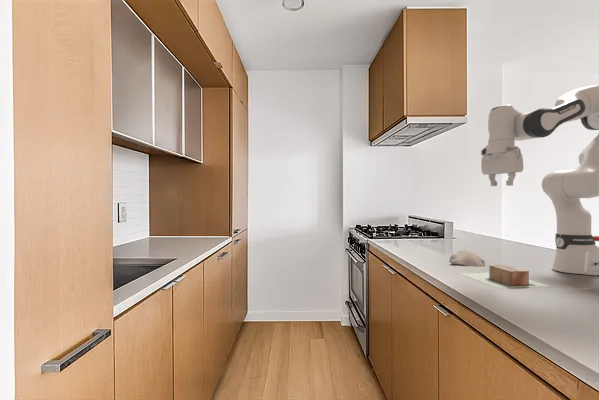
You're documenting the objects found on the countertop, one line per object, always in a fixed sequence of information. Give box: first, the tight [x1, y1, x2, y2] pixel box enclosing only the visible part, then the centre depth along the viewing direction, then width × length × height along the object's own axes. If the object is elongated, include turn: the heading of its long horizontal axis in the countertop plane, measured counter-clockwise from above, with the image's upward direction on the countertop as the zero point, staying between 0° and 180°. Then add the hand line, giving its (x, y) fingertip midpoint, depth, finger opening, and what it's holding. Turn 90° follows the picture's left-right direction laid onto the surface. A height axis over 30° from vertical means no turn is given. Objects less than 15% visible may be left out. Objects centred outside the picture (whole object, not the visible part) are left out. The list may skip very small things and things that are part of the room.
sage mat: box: [458, 272, 550, 289], centre depth 142 cm, size 18×24×1 cm
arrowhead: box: [449, 250, 486, 268], centre depth 185 cm, size 14×5×30 cm
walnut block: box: [488, 264, 530, 286], centre depth 138 cm, size 6×4×12 cm
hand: (501, 185), depth 154 cm, fingers open, 8 cm apart
